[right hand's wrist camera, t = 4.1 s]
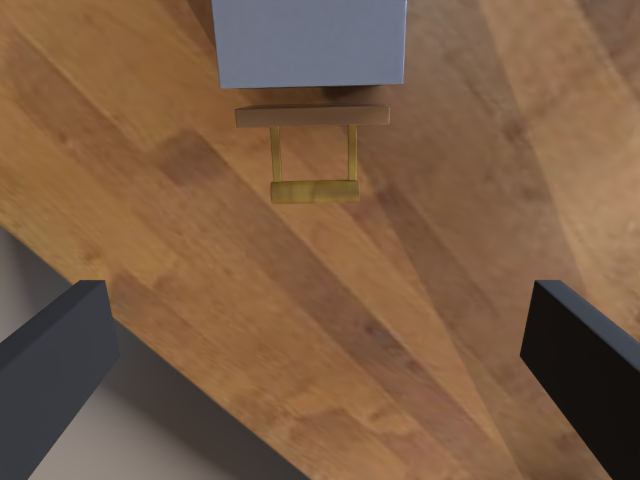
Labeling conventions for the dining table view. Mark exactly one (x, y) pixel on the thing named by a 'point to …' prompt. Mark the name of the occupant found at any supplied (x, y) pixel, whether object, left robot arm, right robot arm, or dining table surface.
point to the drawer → (313, 117)
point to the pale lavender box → (309, 43)
